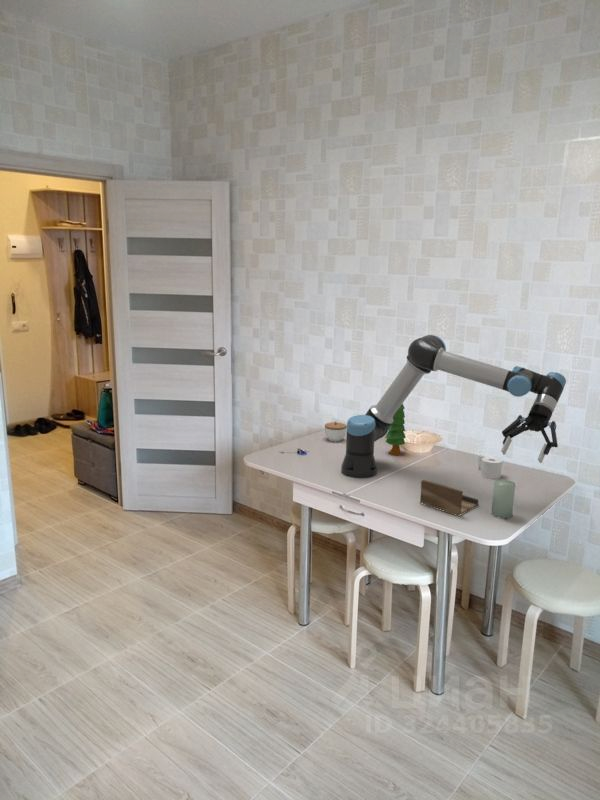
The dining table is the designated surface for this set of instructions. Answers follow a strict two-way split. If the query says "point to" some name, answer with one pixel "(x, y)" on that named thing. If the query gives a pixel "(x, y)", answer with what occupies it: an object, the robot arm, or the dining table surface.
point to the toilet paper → (490, 467)
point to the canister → (503, 498)
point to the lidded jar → (335, 431)
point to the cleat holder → (446, 498)
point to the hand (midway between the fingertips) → (520, 456)
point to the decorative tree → (396, 432)
